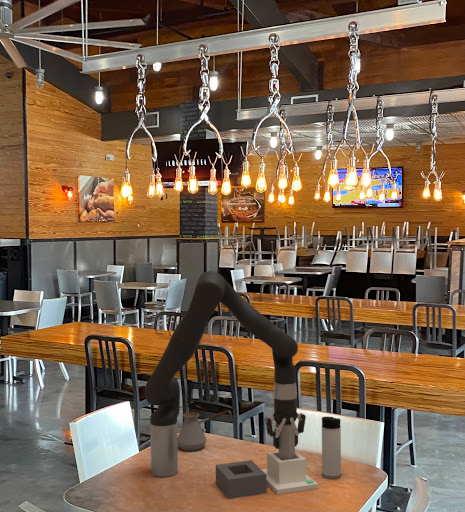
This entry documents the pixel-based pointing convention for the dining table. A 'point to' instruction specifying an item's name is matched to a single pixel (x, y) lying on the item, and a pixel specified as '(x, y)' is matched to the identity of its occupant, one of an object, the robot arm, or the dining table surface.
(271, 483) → the charging dock
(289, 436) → the vintage mobile phone
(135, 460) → the dining table surface
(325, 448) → the travel mug
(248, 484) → the holster
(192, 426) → the coffee pot
